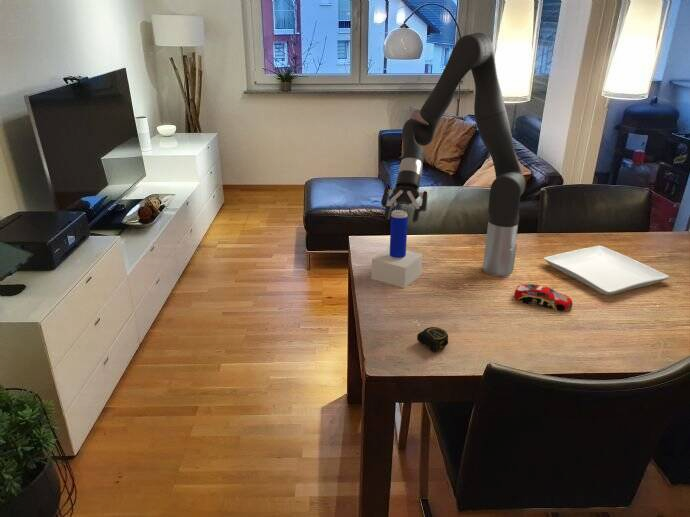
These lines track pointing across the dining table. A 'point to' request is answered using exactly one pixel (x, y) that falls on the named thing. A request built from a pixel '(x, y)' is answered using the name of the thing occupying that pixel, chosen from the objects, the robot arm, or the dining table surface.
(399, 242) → the beverage can
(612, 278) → the square plate
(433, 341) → the tape measure
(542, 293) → the race car
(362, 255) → the dining table surface
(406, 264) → the plain grey cuboid
